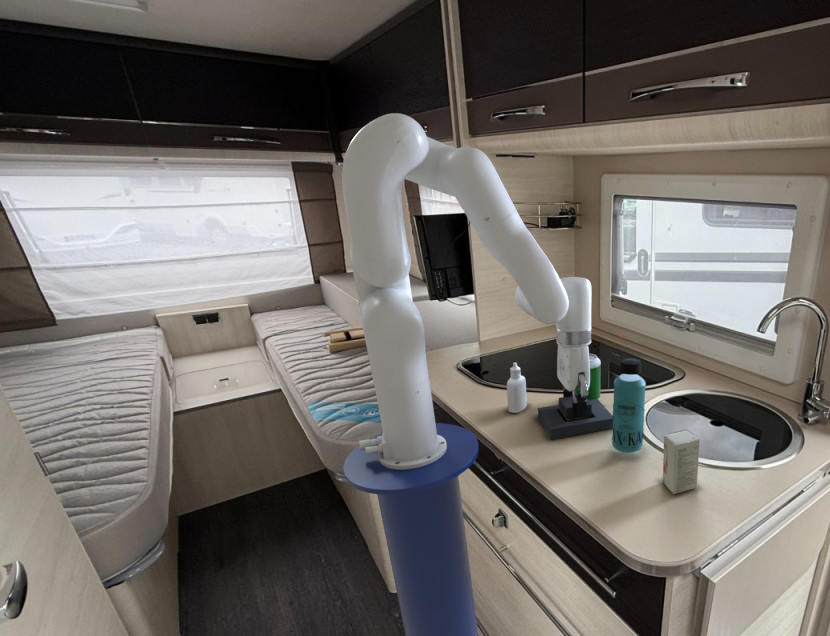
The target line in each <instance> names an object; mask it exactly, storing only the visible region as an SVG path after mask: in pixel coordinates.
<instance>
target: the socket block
mask: <svg viewBox="0 0 830 636" xmlns="http://www.w3.org/2000/svg"><path fill="white" fill-rule="evenodd" d="M588 401H589V402H590V403H591V404H592V416H590V417H587V418H581V419H575V420H569V421H565V420H564V418H565V417H564V416H563V414H562V413H561V412H560V410H559V404H555V405H549V406H542V407H537V417H538V420H539V422H540V424H541V425H542V427H543V428H544V430H545V432H546V434H547V435H548V437H549V439H550V440H555V439H561V438H567V437H571V436H578V435H583V434H589V433H594V432H600V431H605V430H610V429H611V430H612V429H613V426H612V423H613V416H612V415H613V413H611V412H610V411H609V410H608V408H606V406H605V405H603V403H602V402H601V401H600V400H598V399H593V400H588Z"/></svg>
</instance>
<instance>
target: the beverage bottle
mask: <svg viewBox="0 0 830 636" xmlns="http://www.w3.org/2000/svg"><path fill="white" fill-rule="evenodd" d="M619 364H620V366H619V372H620V375H618V376H617V377H616V378H615V379H614V381H613V402H612V405H611V407H612V416H613V423H612V426H613V428H612V433H611V444H612V447H613V449H614V450H616V451H618V452H620V453H624V454H625V453H627V454H630V453H631V454H632V453H635V452H638V451H640V450H641V449H642V447H643V443H644V438H645V436H644V432H645V411H646V409H645V404H646V403H645V402H646V386H647V382H646V380H645V379H644V378H643V377H642V376H640V375H639V374H640V373H641V372H642V363H641V360H639V359H638V358H637V359H636V358H633V357H632V358H623V359H621V360H620V362H619Z"/></svg>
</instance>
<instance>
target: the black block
mask: <svg viewBox="0 0 830 636" xmlns="http://www.w3.org/2000/svg"><path fill="white" fill-rule="evenodd" d="M577 396H578V395H577ZM572 402H574V400H573V396H568V397H563V396H561V397H558V405H559V410H560V412H561V413H562V414H563V416H564V417H563V418H564V419H565V420H566V421H573V420H574V419H573V417H572ZM590 416H592V404H591V403H590V402H589V401H588V400H587V416H586V417H583V418H582V419H585V418H588V417H590ZM576 420H579V418H577V419H576Z"/></svg>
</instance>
